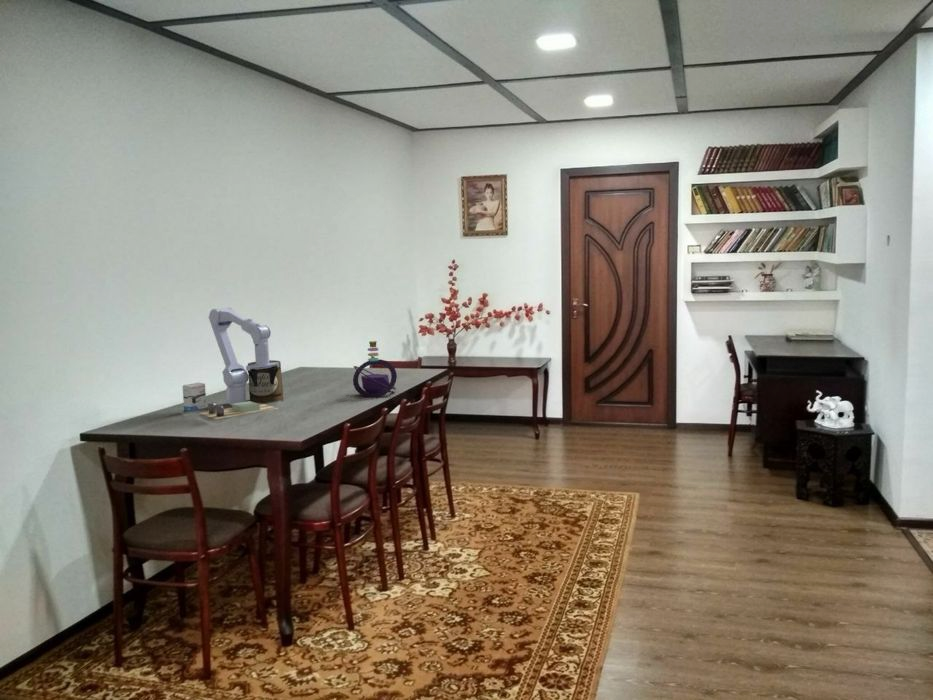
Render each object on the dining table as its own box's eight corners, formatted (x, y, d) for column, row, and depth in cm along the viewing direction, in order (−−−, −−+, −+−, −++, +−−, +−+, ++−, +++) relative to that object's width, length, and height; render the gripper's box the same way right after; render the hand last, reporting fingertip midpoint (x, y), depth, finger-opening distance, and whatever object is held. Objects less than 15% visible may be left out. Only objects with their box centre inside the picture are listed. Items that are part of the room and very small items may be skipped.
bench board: (198, 415, 323) (198, 413, 323) (260, 405, 341) (260, 403, 341) (216, 421, 309) (215, 419, 309) (279, 410, 327) (279, 408, 327)
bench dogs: (207, 413, 321) (207, 403, 321) (214, 412, 323) (213, 402, 323) (218, 416, 313) (217, 407, 313) (225, 415, 315) (224, 406, 315)
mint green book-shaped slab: (232, 409, 328) (231, 403, 328) (249, 406, 333) (249, 401, 333) (242, 412, 320) (241, 406, 320) (259, 409, 326) (259, 403, 325)
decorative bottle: (344, 397, 353) (341, 344, 350) (361, 389, 373) (359, 338, 370) (390, 398, 347) (388, 343, 344) (405, 390, 368) (403, 338, 365)
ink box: (191, 413, 328) (189, 386, 327) (183, 412, 331) (181, 385, 329) (207, 409, 335) (205, 382, 334) (199, 408, 338) (197, 382, 336)
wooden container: (245, 405, 342) (242, 356, 339) (255, 399, 357) (252, 352, 354) (278, 404, 342) (275, 355, 339) (287, 398, 356) (284, 351, 354)
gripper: (250, 356, 322) (252, 388, 324) (281, 353, 331) (283, 383, 333) (243, 355, 327) (245, 386, 329) (274, 351, 337) (276, 382, 338)
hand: (263, 385), depth 331 cm, fingers open, 7 cm apart
